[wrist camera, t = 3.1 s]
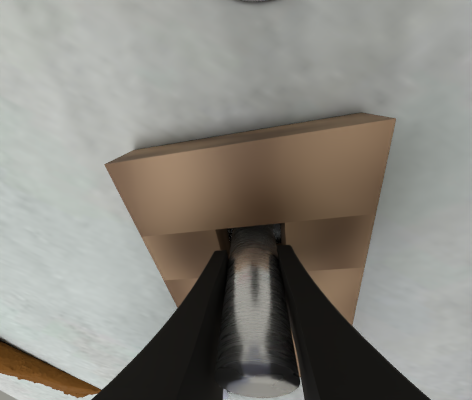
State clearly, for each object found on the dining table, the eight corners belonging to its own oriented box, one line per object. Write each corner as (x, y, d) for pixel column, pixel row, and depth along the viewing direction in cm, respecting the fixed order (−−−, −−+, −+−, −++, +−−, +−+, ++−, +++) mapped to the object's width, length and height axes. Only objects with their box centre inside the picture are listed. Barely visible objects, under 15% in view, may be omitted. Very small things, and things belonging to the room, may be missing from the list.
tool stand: (216, 347, 21) (212, 376, 19) (133, 150, 11) (104, 164, 9) (330, 345, 20) (341, 377, 17) (361, 112, 9) (396, 118, 7)
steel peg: (236, 241, 14) (223, 396, 7) (230, 210, 12) (205, 361, 5) (273, 238, 13) (300, 398, 6) (270, 206, 12) (299, 361, 5)
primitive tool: (106, 388, 31) (90, 421, 28) (82, 391, 32) (64, 422, 29) (-8, 323, 23) (-48, 359, 20) (-33, 330, 24) (-74, 365, 21)
